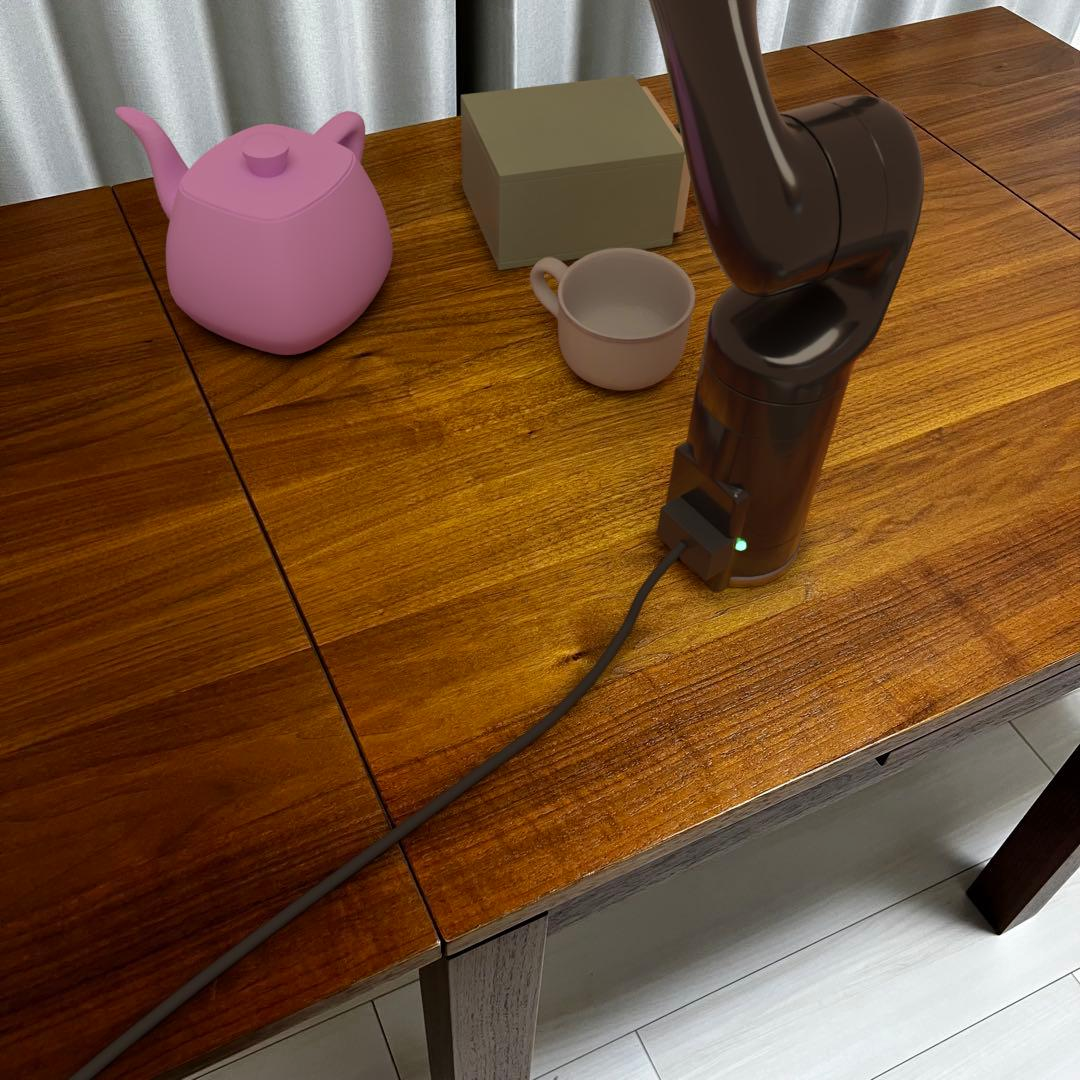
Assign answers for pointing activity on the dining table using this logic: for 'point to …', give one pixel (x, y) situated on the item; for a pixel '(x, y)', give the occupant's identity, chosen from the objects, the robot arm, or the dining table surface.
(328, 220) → the teapot
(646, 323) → the teacup
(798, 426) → the robot arm
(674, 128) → the drawer
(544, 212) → the cabinet
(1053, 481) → the dining table surface
